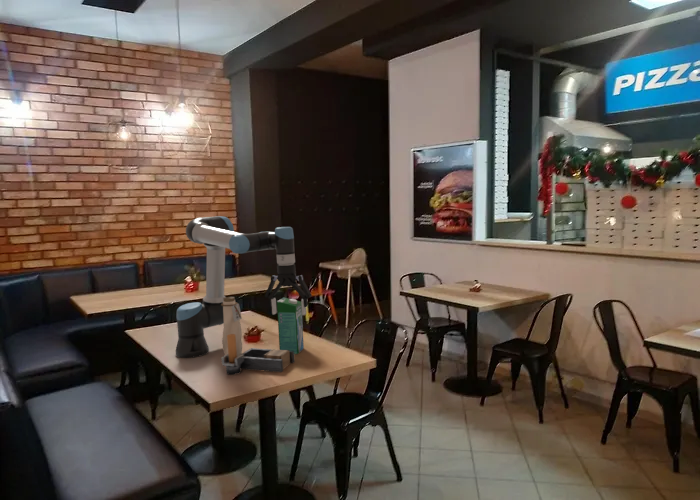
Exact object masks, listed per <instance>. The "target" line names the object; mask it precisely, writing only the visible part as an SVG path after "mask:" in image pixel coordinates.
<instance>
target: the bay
mask: <svg viewBox="0 0 700 500" xmlns="http://www.w3.org/2000/svg"><path fill="white" fill-rule="evenodd" d="M271 350H273V348H272V349H271V348H270V349H268V348H256V347H251V348H249V349H247V350H246V351H244V352H242V354H243V355H244V362H243V363H241V370H250V371H251V370H252V371H261V370H264V371H263V372H273V371H274V372H275V373H282V372H283V371H284V369H283V360H282V359H270V358H264V355H265V354H266V353H268V352H269V351H271ZM289 353H290V364H294V363H295V362H296V361H295V354H294V351H289ZM239 356H240V355H239ZM237 357H238V356H237Z"/></svg>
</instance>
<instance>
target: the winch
mask: <svg viewBox="0 0 700 500" xmlns="http://www.w3.org/2000/svg"><path fill="white" fill-rule="evenodd" d="M224 355H225V354H224ZM243 362H244V355H243V354H241V355H240V356H238V357H236V358H235V363H229V355H228V354H227V355H225V356H222V357H221V365H222V366H225V369H226V370H225V371H226V374H227V375H233V376H234V375H239V374H240V373H241V372H242V369H241V363H243Z"/></svg>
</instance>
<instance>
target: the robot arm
mask: <svg viewBox="0 0 700 500" xmlns="http://www.w3.org/2000/svg"><path fill="white" fill-rule="evenodd" d="M185 235H186V238H187V239H188V240H190V242H192V243H194V244H199V245H203V246H204V247H205V248H206V277H205V278H206V279H205V280H206V281H205V283H206V286H205V296H204V297H203V298H202V303H201V302H198V301H197V302H195V301H193V302H188V303H185V304H182V305H180V306H179V307H178V308H177V309H176V324H177V325H176V326H177V335H178V336H177V337H178V338H177V344H176V347H175V356H176V357H177V358H182V359H183V358H184V359H191V358H196V357H202V356H204V355H207V354H208V353H209V351H210V348H209V345H208V342H207V339H206V338H205V332H204V331H205V330H204V329H208V328H211V327H215V326H222V325H224V316H223V306H222V305H221V304H222V303H223V301H224V299H223V298H225V297H226V296H225V279H226V277H225V271H226V249H228V250H230V251H232V253H233V254H236V255H238V254H240V255H241V254H247V253H251V252H259V251H267V250H275V252H276V263H277V266H276V269H277V270H276V271H277V275H275V274H274V275H270V281H269V285H268V287H267V290H266V292H265V294H264V298H268V299H269V307H271V314H272V315H276V314H278V312H277V299H276V297H275V296H276V295H277V294H278V292H279V291H280V289H282V287H288V288H289V287H292V288H293V289H294V290H295V291H296V292H297V293H298V295H299V296H300V297H301V301H300V302H301V303H302V316H306V315H307V307H308V304H309V303H308V301H309V300H308V299H310V298H311V297H312V293H311V291H310V289H309V288H308V285H307V284H306V282H305V279H304V278H305V277H304V275H303V274H301V275H297V274H296V273H297V272H296V271H297V270H296V264H295V263H296V256H295V236H294V228H293V227H291V226H281V227H280V226H278V227H275V229H274V231H260V232H255V233H253V232H252V233H242V232H238V231H235V228H234V225H233V223H232V222H231V219H230V218H228V217H227V216H221V215H220V216H219V215H215V216H207V217H196V218H194V219H192V220H190V221H189V222H188V224H187V225H186V228H185ZM276 281H277V282H278V283H277V284H276ZM297 281H298V282H299V284H298V283H297ZM275 284H276V286H275ZM274 287H275V288H274Z"/></svg>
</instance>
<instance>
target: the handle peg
mask: <svg viewBox="0 0 700 500" xmlns="http://www.w3.org/2000/svg"><path fill="white" fill-rule="evenodd" d="M227 341H228V355H229V363H235V358H236V357H237V350H236V336H235V334H229V335H227Z"/></svg>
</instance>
